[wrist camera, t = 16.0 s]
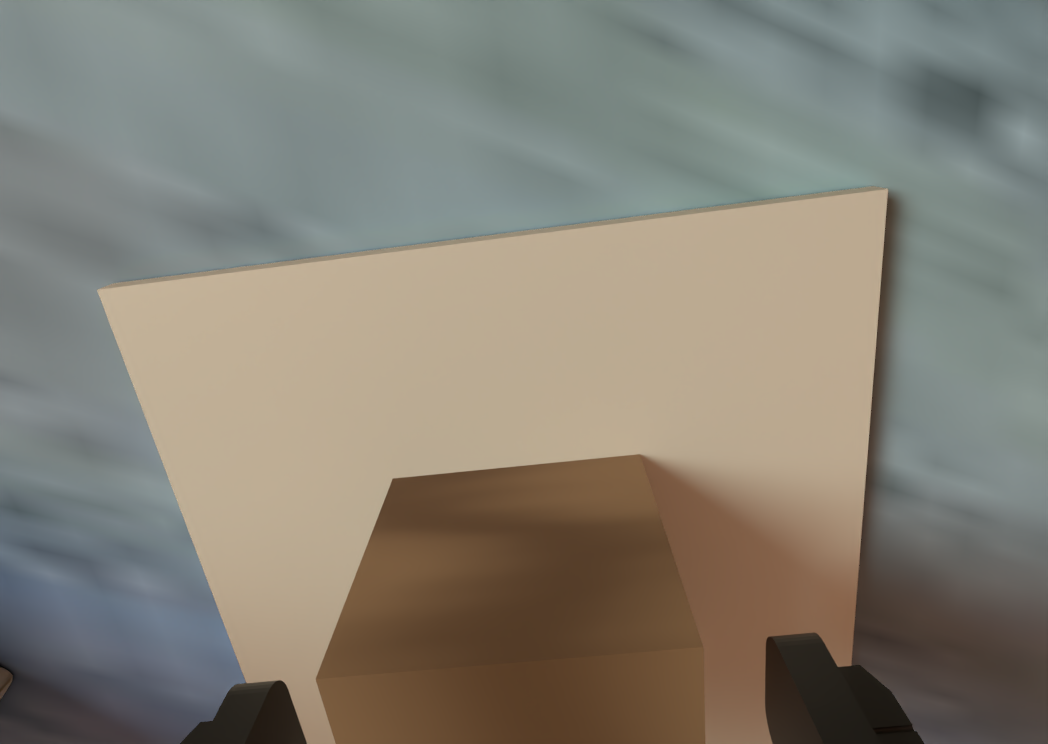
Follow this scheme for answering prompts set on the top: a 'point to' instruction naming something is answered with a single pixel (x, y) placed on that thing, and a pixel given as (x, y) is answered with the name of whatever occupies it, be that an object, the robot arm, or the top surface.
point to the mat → (531, 412)
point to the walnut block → (517, 615)
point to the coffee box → (4, 681)
